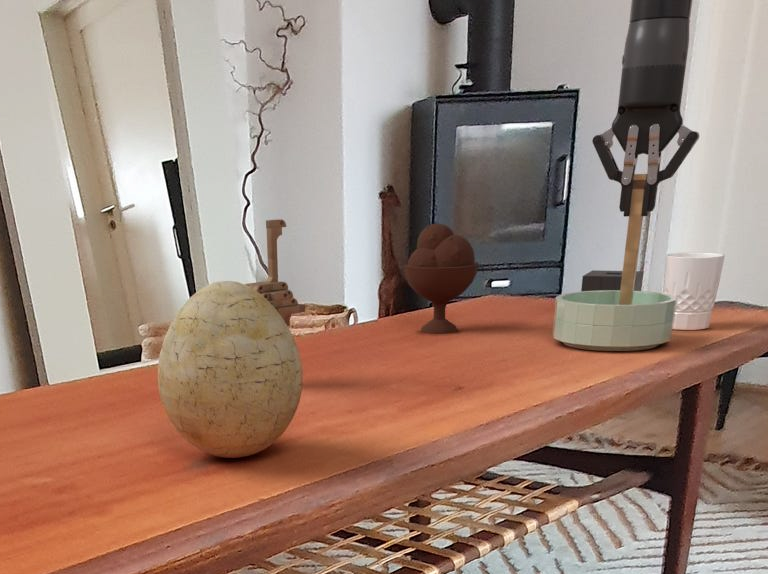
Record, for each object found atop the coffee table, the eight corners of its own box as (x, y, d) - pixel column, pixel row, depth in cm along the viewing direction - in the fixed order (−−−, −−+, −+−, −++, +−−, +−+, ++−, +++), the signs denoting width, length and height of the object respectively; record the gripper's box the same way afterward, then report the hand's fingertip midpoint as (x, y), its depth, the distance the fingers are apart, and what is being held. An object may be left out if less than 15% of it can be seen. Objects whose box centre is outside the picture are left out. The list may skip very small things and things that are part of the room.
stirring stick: (630, 317, 134) (648, 173, 126) (629, 319, 133) (646, 174, 125) (618, 317, 135) (635, 174, 127) (616, 318, 133) (633, 174, 125)
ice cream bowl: (397, 335, 144) (399, 226, 137) (411, 324, 154) (413, 221, 147) (468, 337, 141) (474, 225, 134) (478, 325, 151) (484, 220, 144)
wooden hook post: (271, 376, 120) (266, 218, 112) (308, 383, 115) (305, 219, 107) (159, 399, 110) (145, 227, 102) (195, 408, 105) (183, 229, 97)
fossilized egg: (241, 430, 96) (233, 269, 90) (333, 453, 88) (331, 278, 81) (136, 456, 89) (119, 283, 82) (225, 484, 80) (214, 294, 74)
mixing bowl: (676, 336, 137) (683, 291, 134) (662, 355, 124) (669, 307, 122) (564, 331, 143) (569, 289, 140) (540, 349, 131) (544, 303, 128)
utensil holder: (638, 309, 161) (643, 271, 158) (631, 316, 154) (636, 276, 151) (588, 308, 164) (592, 270, 161) (578, 314, 157) (582, 275, 155)
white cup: (670, 321, 149) (679, 251, 144) (721, 325, 144) (733, 253, 139) (647, 328, 144) (656, 256, 139) (700, 332, 139) (711, 258, 134)
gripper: (715, 62, 121) (693, 214, 128) (602, 69, 126) (588, 214, 134) (711, 58, 115) (688, 217, 122) (592, 66, 120) (577, 218, 128)
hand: (635, 215), depth 128 cm, fingers closed on stirring stick, 1 cm apart
